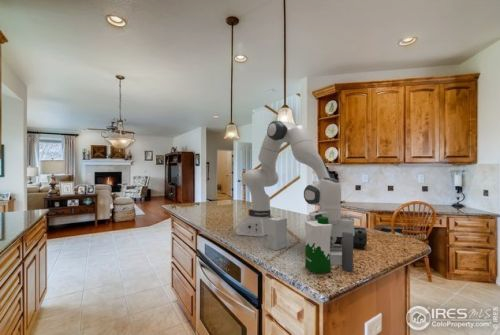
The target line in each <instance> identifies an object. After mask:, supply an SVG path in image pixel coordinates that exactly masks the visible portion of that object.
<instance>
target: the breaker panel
mask: <svg viewBox="0 0 500 335" xmlns="http://www.w3.org/2000/svg"><path fill="white" fill-rule="evenodd" d="M330 265H332V266H334V265H335V266H336V265H337V266H342V248H341V245H339V244H334V247H330Z"/></svg>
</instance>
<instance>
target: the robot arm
mask: <svg viewBox="0 0 500 335" xmlns="http://www.w3.org/2000/svg"><path fill="white" fill-rule="evenodd" d="M266 130H267V132H266V134H265V136H264V138H263V141H262V144H261V147H260V150H259V154H258V158H257V159H258V162H260V163H261V165H260V166H261V167H260V169H259V168H258V169H257V168H251V169H248V170H246V171H245V172H244V173H243V175H242V180H243V181H242V182H243V184H244V185H245V186H246V187H247V188H248V190H249V192H250V196H251V208H249V209H248V211H247V212H248V215H247V216H246V217H244V218H243V219H242V220H240V222H239V226H238V228H236V229H235V235H237V236H246V237H247V236H251V237H260V238H261V237H264V236H268V219H269V218H272V217H271V214H272V212H271V209H270V208H271V201H270V200H271V198H270V196H269V194H267V192H266V189H265V188H267V187H273V186H275V185H276V184H278V181H279V174H278V172H277V169H276V167H277V166H276V165H277V160H278V157H279V153H280V150H281V147H282V144H284V143H286V144H289V145H290V148H291V152H292V156H293V157H294V159H295V161H297V162H299V163H300V164H303V165H305V166H307V167H310V168H311V169H312V170H313V171H314V172H315V174H316V177H317V179H318V181H317V182H315V183H312V184H309V185H306V186H305V188H304V189H303V198H304V201H305V202H306V203H307V204H308V205H312V206H316V205H317V206H318V205H319V209H318V210H314V211H310V212H309V213H308V217H309V218H308V219H307V221H306V222H310V221H318V217H327V218H328V223H329V224H331V225H332V230H331V235H330V237H332V238H333V239H332V241H331V242H330V247H334V243H335V241H336V239H337V237H342V233H343V232H349V233H353V236H354V235H355V232H354V227H355V218H354V217H353V216H352V215H351V214H348V215H346V214H342V207H341V200H342V187H341V186H342V185H341V182H340V181H339V179H336V178H333V177H332V175H331V174H330V171H329V170H328V167H327V164H326V163H325V161H324V159H323V157H322V156H321V155H320V154H319V153H318V151H317V149H316V148H315V145H314V143H313V139H312V137H311V134H310V132H309V130H308V128H307V127H306V126H305V125H302V124H294V123H293V122H286V121H281V120H273V121H271V122H270V123H269V124H268V125H267V129H266Z"/></svg>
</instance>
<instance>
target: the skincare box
mask: <svg viewBox="0 0 500 335" xmlns="http://www.w3.org/2000/svg"><path fill="white" fill-rule="evenodd" d="M287 222H288V218H287V217H283V216H280V215H277V216H273V217H271V218H269V219H268V235H267V248H268V249H271V250H272V251H275V250H276V251H279V250H281V249H285V248H287V246H288V244H287V242H288V241H287V231H288V230H287V228H288V227H287V226H288V225H287V224H288V223H287Z"/></svg>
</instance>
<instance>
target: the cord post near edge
mask: <svg viewBox="0 0 500 335" xmlns="http://www.w3.org/2000/svg"><path fill="white" fill-rule="evenodd" d="M341 269H342V271H344V272H348V273H350V272H353V271H354V247H353V233H349V232H343V233H342V265H341Z"/></svg>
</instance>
